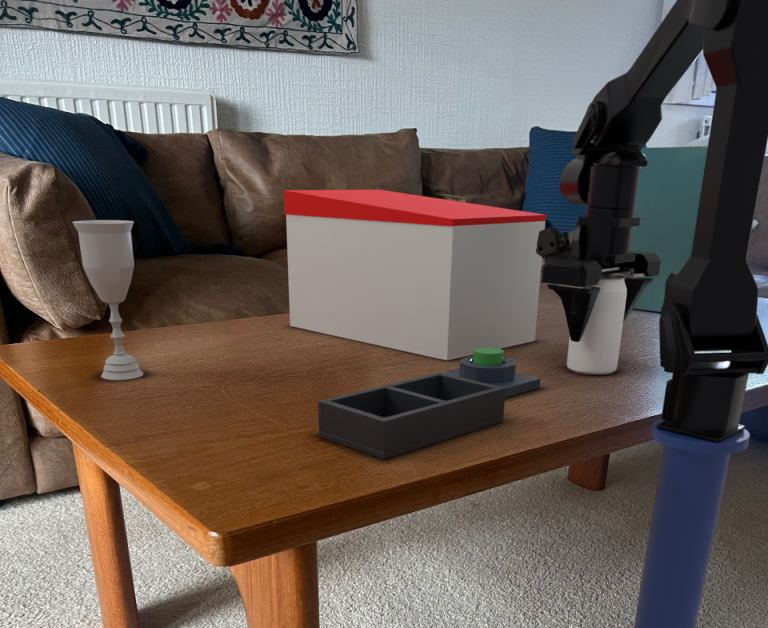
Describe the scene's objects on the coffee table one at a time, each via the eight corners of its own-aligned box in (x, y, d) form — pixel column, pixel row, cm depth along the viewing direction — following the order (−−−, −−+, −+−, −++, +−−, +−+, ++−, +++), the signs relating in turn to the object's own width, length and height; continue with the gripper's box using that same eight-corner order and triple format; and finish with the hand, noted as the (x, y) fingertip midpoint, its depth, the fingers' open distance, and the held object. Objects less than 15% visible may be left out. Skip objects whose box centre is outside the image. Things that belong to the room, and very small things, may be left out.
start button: (508, 365, 94) (510, 350, 93) (490, 369, 91) (491, 355, 91) (485, 360, 96) (486, 346, 95) (466, 364, 94) (467, 350, 93)
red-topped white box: (377, 312, 143) (378, 189, 135) (534, 340, 121) (547, 195, 112) (288, 325, 130) (283, 190, 122) (446, 360, 107) (453, 197, 99)
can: (597, 378, 99) (609, 280, 94) (556, 369, 103) (565, 275, 99) (626, 371, 103) (639, 276, 98) (585, 362, 107) (595, 271, 102)
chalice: (91, 370, 99) (70, 220, 92) (146, 366, 102) (130, 219, 95) (96, 384, 93) (74, 224, 86) (154, 379, 96) (137, 223, 89)
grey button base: (539, 388, 94) (542, 363, 93) (498, 400, 89) (500, 374, 88) (475, 373, 101) (476, 350, 99) (433, 383, 95) (434, 359, 94)
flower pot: (589, 307, 152) (607, 147, 141) (643, 297, 164) (664, 149, 153) (685, 320, 139) (714, 145, 127) (736, 309, 151) (766, 148, 140)
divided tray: (503, 421, 81) (505, 387, 80) (383, 459, 70) (384, 421, 69) (438, 403, 87) (439, 372, 86) (318, 436, 76) (317, 400, 75)
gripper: (594, 203, 106) (581, 320, 113) (510, 206, 94) (501, 336, 101) (671, 207, 99) (652, 331, 105) (590, 211, 87) (575, 350, 93)
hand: (595, 336), depth 101 cm, fingers open, 9 cm apart
